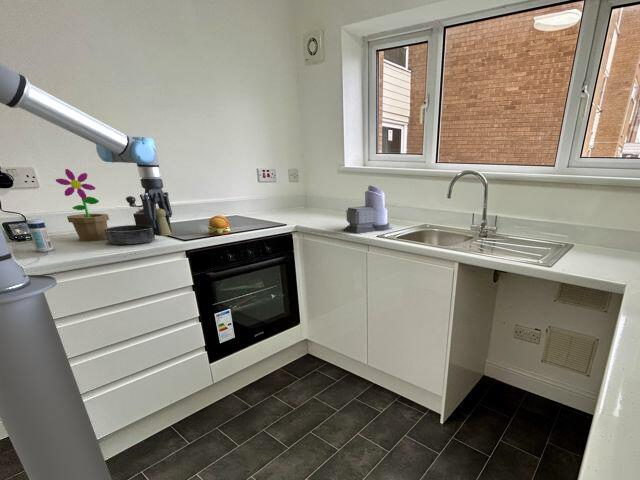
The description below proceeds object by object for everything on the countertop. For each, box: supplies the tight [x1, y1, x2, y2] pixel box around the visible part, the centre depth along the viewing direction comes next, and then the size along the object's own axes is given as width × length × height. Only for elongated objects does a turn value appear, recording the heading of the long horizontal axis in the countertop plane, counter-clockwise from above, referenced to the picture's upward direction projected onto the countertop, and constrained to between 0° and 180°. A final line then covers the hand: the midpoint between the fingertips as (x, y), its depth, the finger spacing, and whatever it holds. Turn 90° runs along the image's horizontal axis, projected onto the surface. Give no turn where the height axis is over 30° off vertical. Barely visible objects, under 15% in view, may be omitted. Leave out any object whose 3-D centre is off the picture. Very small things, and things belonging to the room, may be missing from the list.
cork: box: [155, 208, 172, 237], centre depth 151 cm, size 6×6×11 cm
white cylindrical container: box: [26, 218, 54, 253], centre depth 135 cm, size 5×5×12 cm
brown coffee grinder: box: [125, 195, 153, 226], centre depth 174 cm, size 16×11×18 cm
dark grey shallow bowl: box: [104, 224, 156, 246], centre depth 155 cm, size 17×17×6 cm
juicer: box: [342, 184, 392, 235], centre depth 200 cm, size 30×16×24 cm, turn 139°
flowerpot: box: [55, 168, 110, 242], centre depth 154 cm, size 14×14×30 cm
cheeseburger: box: [207, 214, 231, 236], centre depth 178 cm, size 10×11×10 cm
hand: (163, 233), depth 153 cm, fingers closed on cork, 6 cm apart
